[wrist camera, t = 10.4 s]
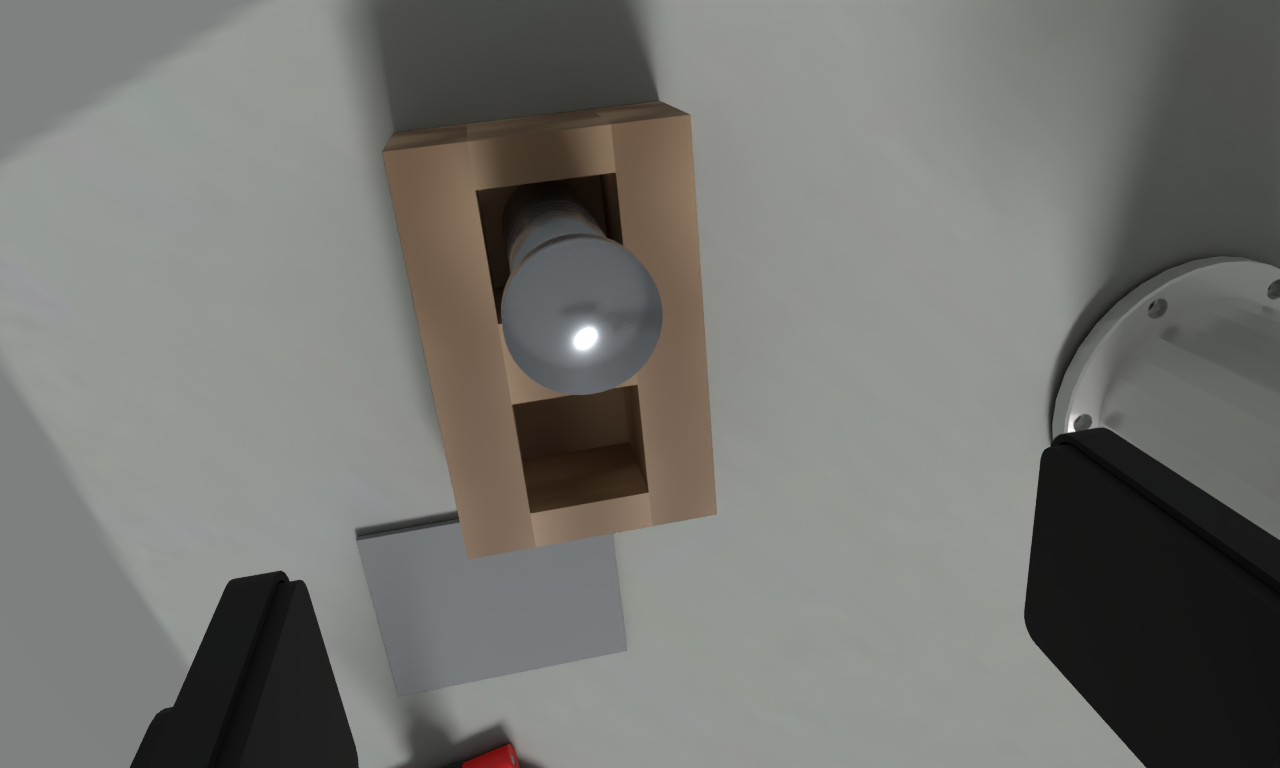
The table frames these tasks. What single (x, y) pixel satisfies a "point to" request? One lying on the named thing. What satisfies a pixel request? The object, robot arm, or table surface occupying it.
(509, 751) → the tow hook
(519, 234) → the pin
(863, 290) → the table surface
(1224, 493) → the robot arm
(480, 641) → the mat
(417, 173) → the block
